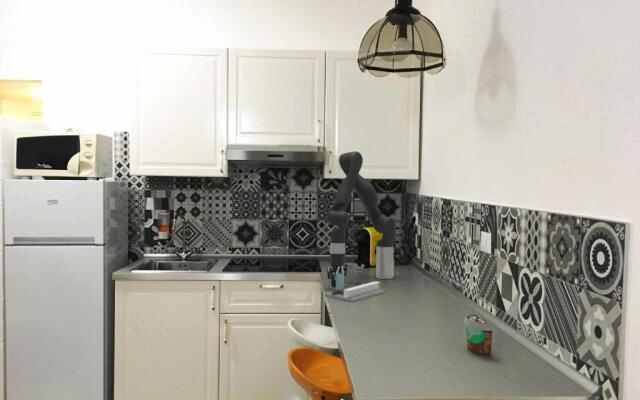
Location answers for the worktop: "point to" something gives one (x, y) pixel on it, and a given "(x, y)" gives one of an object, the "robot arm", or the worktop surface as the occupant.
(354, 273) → the mechanical component
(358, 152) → the robot arm
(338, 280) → the block
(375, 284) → the rail mount
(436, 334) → the worktop surface
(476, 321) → the food container
